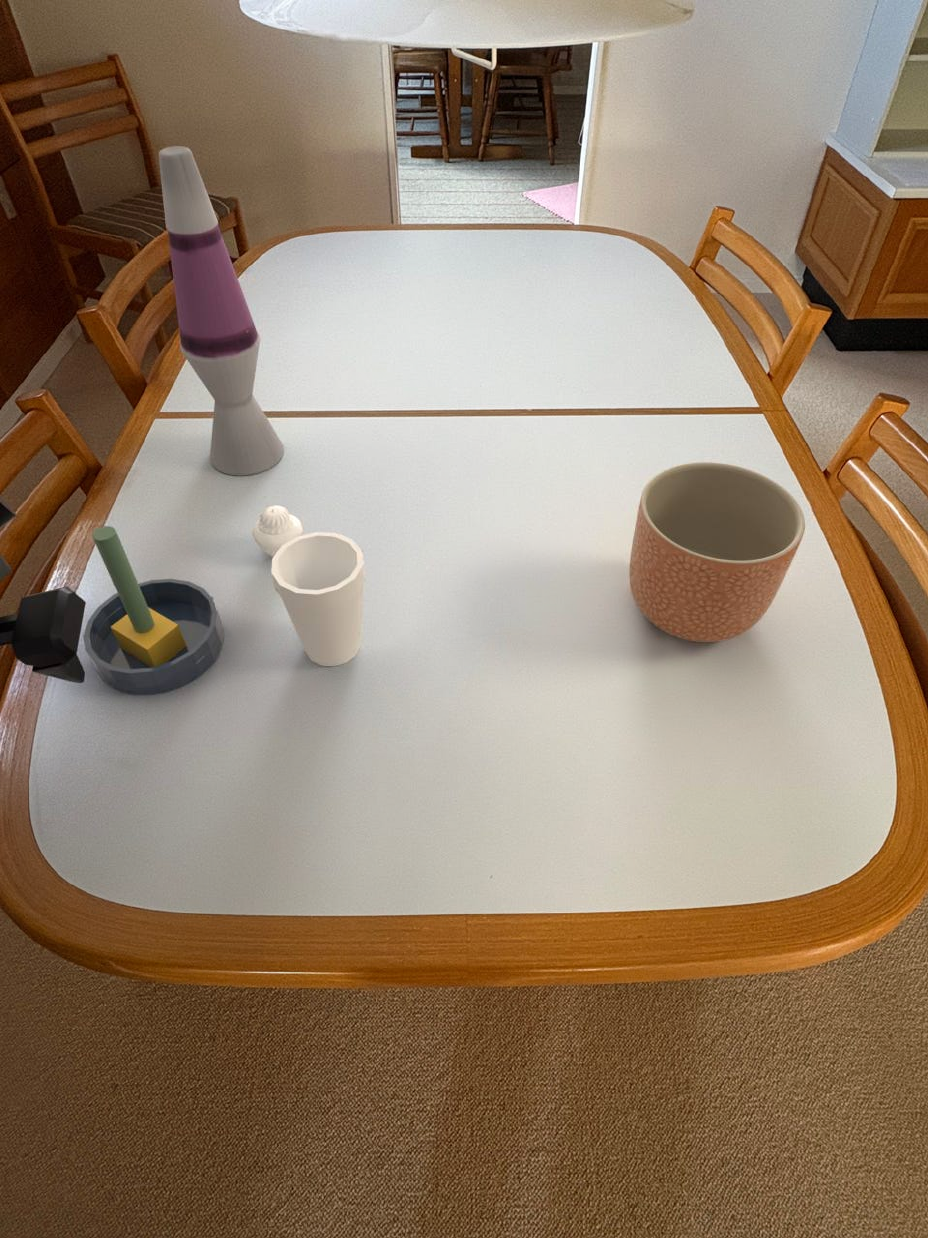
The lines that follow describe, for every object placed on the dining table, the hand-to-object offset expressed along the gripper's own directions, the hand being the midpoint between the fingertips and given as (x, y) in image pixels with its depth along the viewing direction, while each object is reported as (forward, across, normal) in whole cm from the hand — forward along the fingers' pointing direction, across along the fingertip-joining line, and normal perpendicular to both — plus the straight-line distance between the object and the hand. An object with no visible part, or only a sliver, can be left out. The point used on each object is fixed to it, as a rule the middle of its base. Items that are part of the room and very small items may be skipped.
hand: (36, 687), depth 72 cm
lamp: (+23, -8, -48) cm, 54 cm away
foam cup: (+18, -22, -10) cm, 30 cm away
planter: (+28, -64, -11) cm, 71 cm away
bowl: (+14, -3, -12) cm, 19 cm away
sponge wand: (+14, -2, -11) cm, 18 cm away
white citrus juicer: (+20, -15, -26) cm, 36 cm away
